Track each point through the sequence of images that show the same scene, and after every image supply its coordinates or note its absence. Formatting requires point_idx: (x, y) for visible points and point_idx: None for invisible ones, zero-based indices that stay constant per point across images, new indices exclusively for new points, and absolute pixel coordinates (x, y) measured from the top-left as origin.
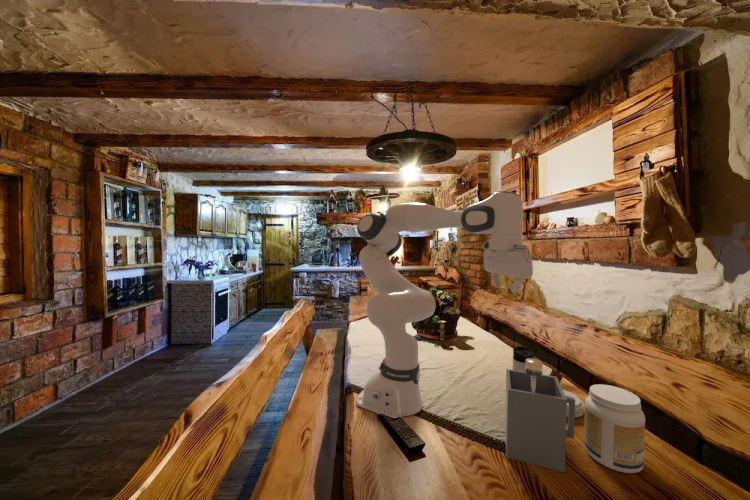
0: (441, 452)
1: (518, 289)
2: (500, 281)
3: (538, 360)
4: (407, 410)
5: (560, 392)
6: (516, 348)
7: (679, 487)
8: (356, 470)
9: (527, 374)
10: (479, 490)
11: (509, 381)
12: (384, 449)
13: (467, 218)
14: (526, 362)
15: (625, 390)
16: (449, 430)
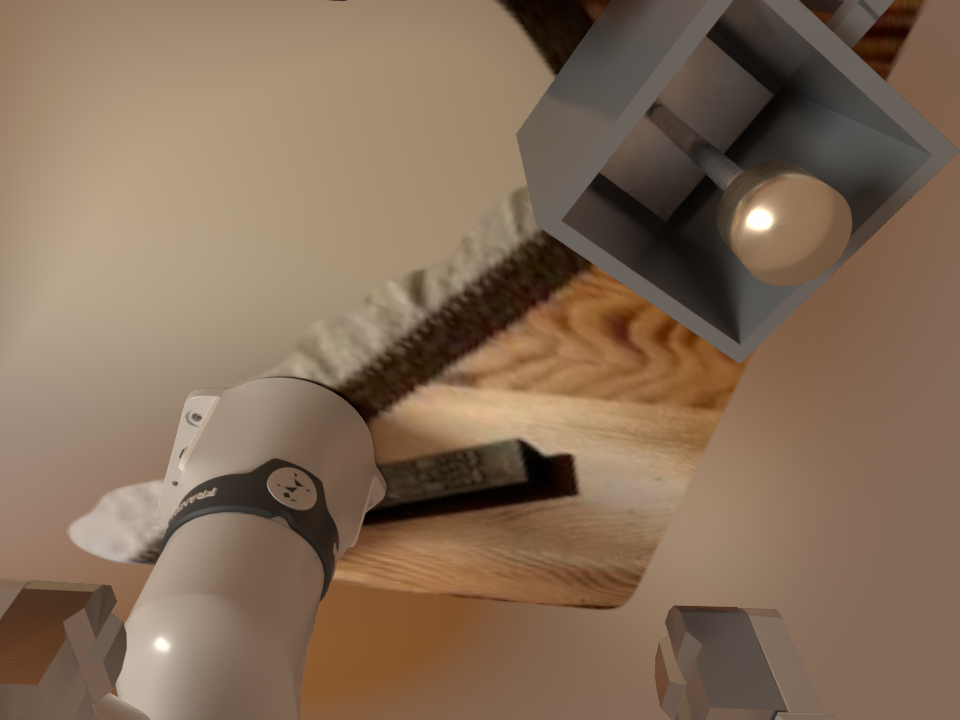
0: (571, 412)
1: (792, 663)
2: (18, 685)
3: (800, 192)
4: (368, 459)
5: (893, 117)
6: None
7: None
8: (567, 596)
9: (629, 129)
10: (729, 380)
11: (676, 306)
12: (515, 536)
13: None
14: (770, 281)
15: None
16: (478, 348)
